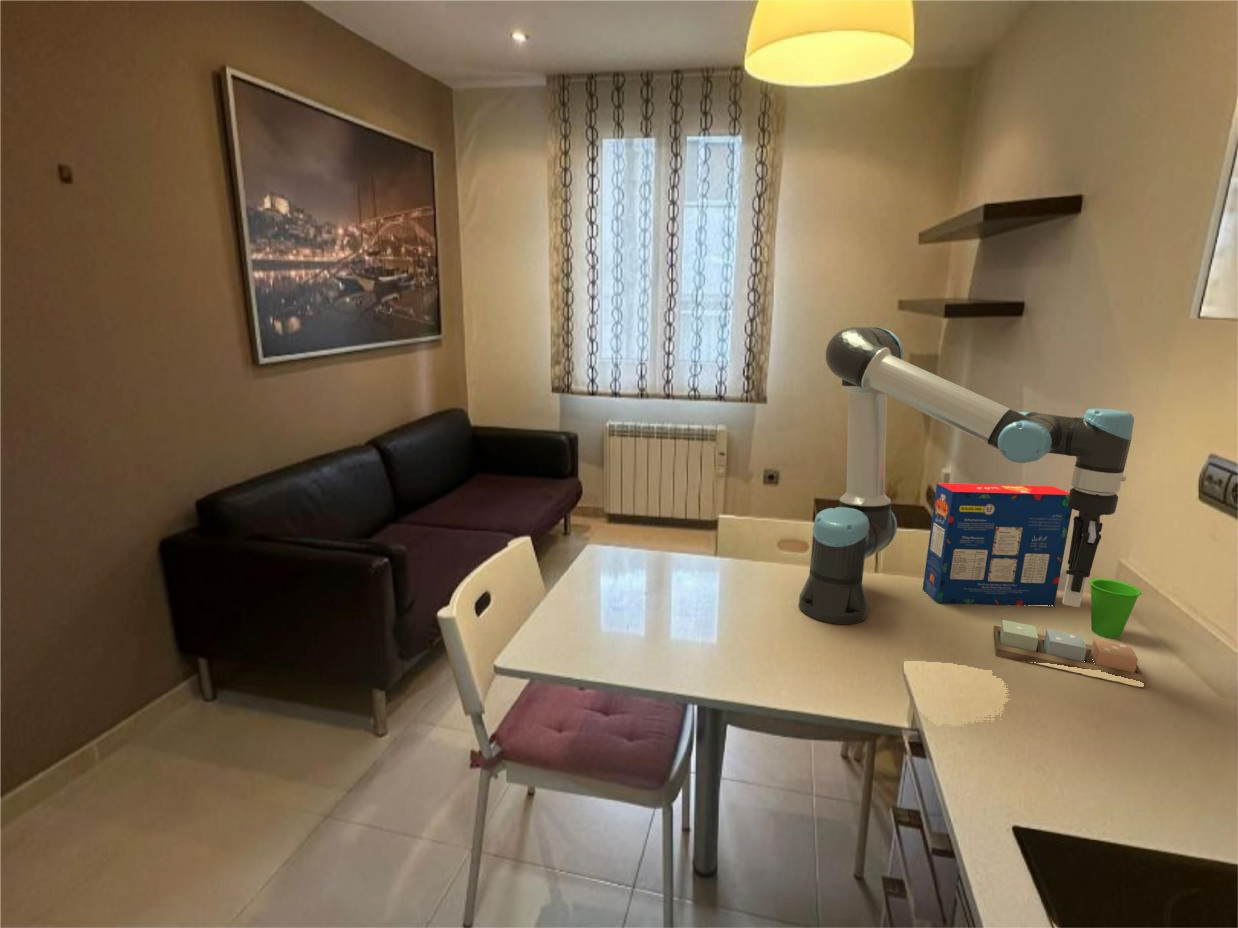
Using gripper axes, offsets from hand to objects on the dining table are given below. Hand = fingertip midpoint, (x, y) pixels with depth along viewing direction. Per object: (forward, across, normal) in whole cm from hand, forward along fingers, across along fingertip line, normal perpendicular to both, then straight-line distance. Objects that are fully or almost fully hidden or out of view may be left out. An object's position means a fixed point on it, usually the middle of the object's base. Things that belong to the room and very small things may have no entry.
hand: (1070, 604), depth 127 cm
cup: (+12, +18, -10) cm, 24 cm away
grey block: (+11, 0, 0) cm, 11 cm away
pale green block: (+11, 0, +8) cm, 14 cm away
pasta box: (+12, +26, +12) cm, 31 cm away
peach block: (+11, 0, -8) cm, 14 cm away
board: (+12, 0, 0) cm, 12 cm away
